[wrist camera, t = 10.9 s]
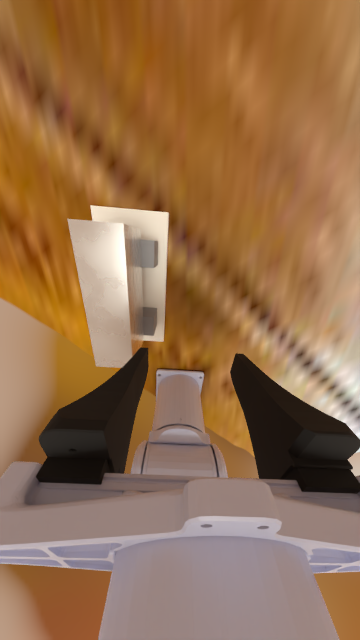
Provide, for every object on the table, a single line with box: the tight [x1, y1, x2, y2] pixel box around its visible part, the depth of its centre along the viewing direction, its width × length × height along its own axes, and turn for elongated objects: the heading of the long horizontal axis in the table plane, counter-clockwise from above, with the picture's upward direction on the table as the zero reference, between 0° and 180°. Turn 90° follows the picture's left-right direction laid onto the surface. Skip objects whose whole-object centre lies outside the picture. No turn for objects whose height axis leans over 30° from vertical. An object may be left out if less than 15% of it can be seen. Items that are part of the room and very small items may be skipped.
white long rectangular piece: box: [68, 219, 144, 368], centre depth 15 cm, size 12×4×5 cm, turn 176°
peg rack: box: [90, 205, 169, 342], centre depth 19 cm, size 16×8×4 cm, turn 175°
